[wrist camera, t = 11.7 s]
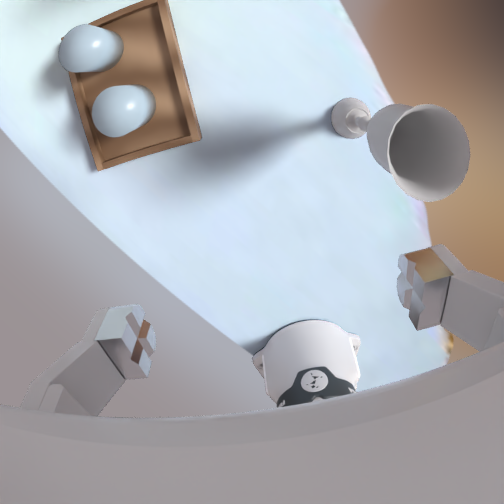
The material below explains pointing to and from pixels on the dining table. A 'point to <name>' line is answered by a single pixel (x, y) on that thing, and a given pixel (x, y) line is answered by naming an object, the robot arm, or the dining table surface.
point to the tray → (143, 73)
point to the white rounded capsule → (90, 49)
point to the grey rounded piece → (123, 109)
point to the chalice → (410, 144)
